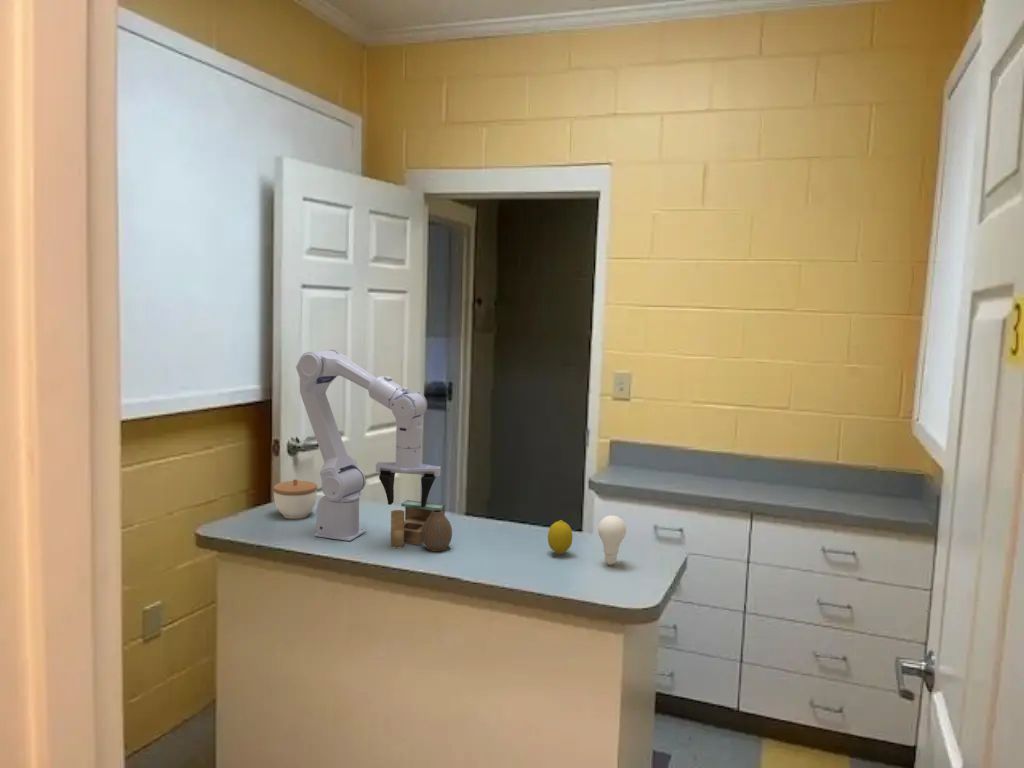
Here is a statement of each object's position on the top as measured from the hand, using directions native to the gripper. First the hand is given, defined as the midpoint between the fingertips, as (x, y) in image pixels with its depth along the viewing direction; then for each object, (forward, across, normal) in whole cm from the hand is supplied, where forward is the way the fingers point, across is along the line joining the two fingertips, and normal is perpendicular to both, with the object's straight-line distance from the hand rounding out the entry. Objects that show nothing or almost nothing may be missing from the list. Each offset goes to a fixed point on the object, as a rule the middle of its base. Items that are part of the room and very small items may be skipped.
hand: (407, 504), depth 176 cm
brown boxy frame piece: (+10, 0, +8) cm, 12 cm away
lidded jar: (+10, -33, +17) cm, 39 cm away
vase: (+10, +7, 0) cm, 12 cm away
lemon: (+10, +35, +2) cm, 36 cm away
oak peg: (+10, -2, 0) cm, 10 cm away
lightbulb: (+10, +46, -2) cm, 47 cm away
